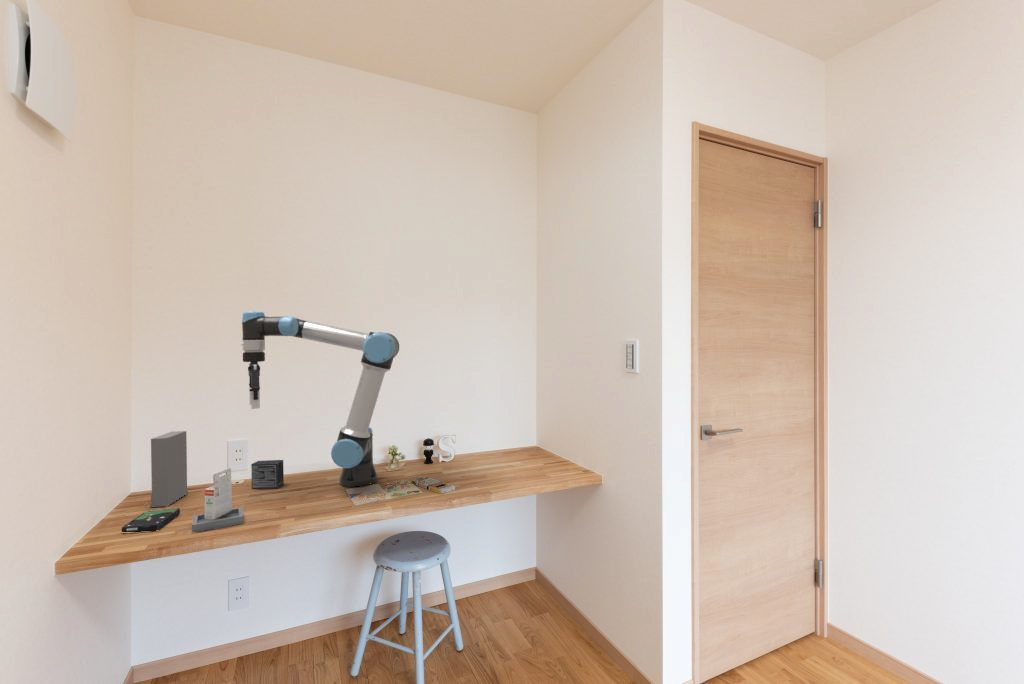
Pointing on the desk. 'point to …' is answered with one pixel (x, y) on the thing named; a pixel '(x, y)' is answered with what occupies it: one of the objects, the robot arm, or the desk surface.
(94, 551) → the desk surface
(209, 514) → the ink box
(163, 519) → the disk drive
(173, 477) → the dark grey slab
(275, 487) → the small box
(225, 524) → the holder
